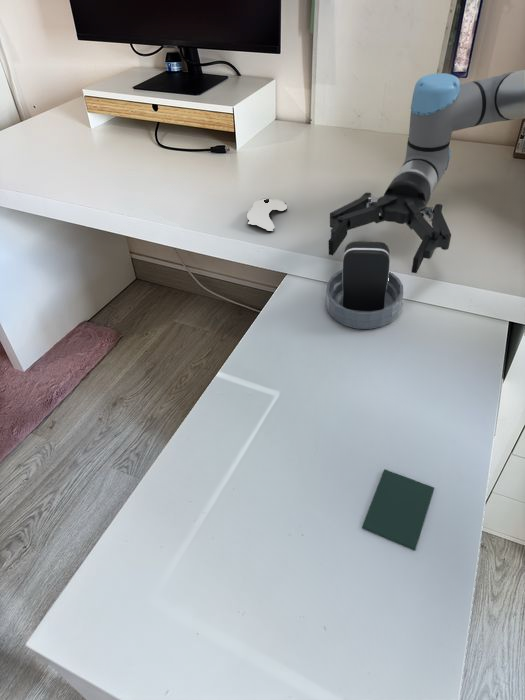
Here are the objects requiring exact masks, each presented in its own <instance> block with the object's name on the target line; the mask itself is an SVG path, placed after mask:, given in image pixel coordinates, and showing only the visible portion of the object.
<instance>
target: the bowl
mask: <svg viewBox="0 0 525 700" xmlns="http://www.w3.org/2000/svg"><path fill="white" fill-rule="evenodd" d="M391 272H392V271H390V272H389V281H388V284H387V289H386V296H385V307H384V309H382V310H354V309H347V308H345V307H343V306H342V302H343V284H342V269H341V270H339V271H337V272H336V273H334V274H333V275H332V276H331V277H330V278H329V280H328V282H327V283H326V288H325V306H326V309H327V312H328V314H329V315H330V316H331V317H332V318H333V320H334V321H336V322H338V323H339V324H341V325H344V326H346V327H350V328H353V329H358V330H359V329H362V330H371V329H376V328H381V327H383V326H385V325H388V324H391V323H392V322H393V321H394V320H395V319H396V318H397V317H399V314H400V313H401V311H402V306H403V300H404V285H403V283H402V280H400V278H399V277H398V276H397V275H395V274H394V273H393V272H392V273H391Z"/></svg>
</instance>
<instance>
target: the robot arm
mask: <svg viewBox="0 0 525 700" xmlns="http://www.w3.org/2000/svg"><path fill="white" fill-rule="evenodd" d="M410 103H411V104H410V116H409V131H408V138H407V142H406V152H405V158H404V162H403V164H402V165H401V167H400V169H399V170H398V171H397V173H396V174H395V176H394V177H393V179H392V181H391V182H390V183H389V185H388V187H387V188H386V189H385V192H384V194H383V195H382V196H380V197H379V198H375V197H372V193H371V192H368V191H367V192H364V193H363V194H362V195H361V196H360V197H359V198H357V199H355V200H353V201H351V202H349V203H347V204H345V205H343V206H341V207H339V208H338V209H336V210H333V211H331V212H330V213H329V227H330V228H331V229H330V238H329V239H328V256H334V255H335V254H336V252H337V250H338V249H339V248H340V246H341V244H342V243H343V241H344V240H345V239H346V237H347V235H348V231H350V230H353V229H356V228H359V227H363V226H365V225H369V224H371V223H375V224H379V223H382V222H383V223H384V222H389V223H396V224H400V225H404V224H406V226H408V228H409V229H410V230H411V231H412V230H413V231H414V232H415V234H416V235H417V236H418V237H419V238H420V240H421V242H420V244H419V247H418V248H417V250H416V252H415V254H414V256H413V258H412V259H413V260H412V265H411V266H412V267H411V273H412V274H418V270H420V267H421V265H422V263H423V261H424V259H427V260H430V259H431V258H432V257H433V254H434V252H435V250H437V248H440V249H441V250H443V251H447V250H449V248H450V244H451V239H452V233H451V230H450V228H449V226H448V224H447V222H446V219H445V217H444V214H443V212H442V210H443V205H442V204H441V203H436V204H435V205H434V207H429V206H427V205H428V204H429V202H430V199H431V197H432V195H433V194H434V192H435V191H436V189H437V186H438V184H439V182H440V181H441V179H442V177H443V175H445V173H446V171H447V170H448V167H449V164H450V160H451V155H452V154H451V149H450V143H451V139H452V136H453V135H452V134H453V132H457V131H460V130H464V129H469V128H474V127H477V126H478V127H479V126H483V125H488V124H493V123H498V122H506V121H507V122H508V121H515V120H523V119H525V69H522V70H517V71H511V72H507V73H503V74H499V75H495V76H491V77H487V78H482V79H478V80H473V81H467V82H462V83H461V81H460V79H459V78H458V77H457V76H456V75H454V74H451V73H443V72H441V73H429V74H426V75H424V76H421V77H420V78H419V79H418V80H417V81H416V82H415V85H414V88H413V92H412V98H411V102H410ZM424 216H426V217H427V218H428V220H427V219H426V218H425V217H424ZM428 221H429V222H430V223H431V224H430V223H429V222H428Z"/></svg>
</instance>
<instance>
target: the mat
mask: <svg viewBox="0 0 525 700" xmlns="http://www.w3.org/2000/svg"><path fill="white" fill-rule="evenodd" d="M434 490H435V487H434V486H431V485H429V484H426V483H423V482H420V481H417V480H415V479H412V478H410V477H406V476H404V475H402V474H399V473H396V472H394V471H391V470H388V469H386V468H385V469H383V471H382V474H381V477H380V480H379V482H378V485H377V488H376V490H375V493H374V495H373V497H372V500H371V503H370V505H369V507H368V510H367V513H366V516H365V518H364V521H363V523H362V526H361V529H363V530H366V531H368V532H371V533H373V534H375V535H378V536H380V537H382V538H385V539H387V540H390V541H392V542H394V543H397V544H399V545H401V546H403V547H406V548H408V549H411V550H414V551H416V549H417V547H418V546H417V545H418V542H419V539H420V537H421V536H420V535H421V533H422V529H423V527H424V523H425V520H426V516H427V513H428V511H429V506H430V503H431V499H432V496H433V493H434V492H435V491H434Z"/></svg>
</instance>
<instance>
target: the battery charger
mask: <svg viewBox="0 0 525 700" xmlns="http://www.w3.org/2000/svg"><path fill="white" fill-rule="evenodd" d="M341 267H342V269H341V270H342V284H343V302H342V306H343V307H345V308H347V309H354V310H382V309H384V307H385V296H386V289H387V284H388V278H389V271H390V267H391V256H390V248H389V246H388V245H387V244H386V243H384V242H381V241H352V242H351V241H350V242H349V243H348V244H347V245H346V246H345V248H344V252H343V257H342V266H341Z"/></svg>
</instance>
